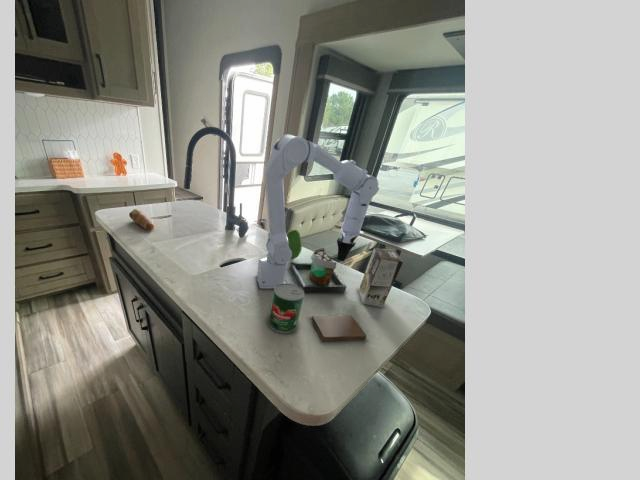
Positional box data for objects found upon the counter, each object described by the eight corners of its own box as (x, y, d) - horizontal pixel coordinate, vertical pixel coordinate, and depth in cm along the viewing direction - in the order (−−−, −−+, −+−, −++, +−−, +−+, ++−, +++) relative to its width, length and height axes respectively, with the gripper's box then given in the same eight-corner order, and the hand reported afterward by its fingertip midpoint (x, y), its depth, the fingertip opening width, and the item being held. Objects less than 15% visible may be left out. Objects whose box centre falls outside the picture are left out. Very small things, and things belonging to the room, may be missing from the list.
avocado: (291, 252, 115) (296, 225, 108) (303, 260, 109) (309, 232, 102) (276, 255, 112) (280, 227, 105) (287, 263, 106) (292, 234, 99)
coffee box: (383, 307, 85) (404, 262, 76) (362, 304, 86) (380, 259, 77) (377, 292, 93) (395, 249, 83) (358, 289, 93) (374, 246, 84)
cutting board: (322, 341, 71) (323, 337, 70) (311, 319, 78) (312, 315, 77) (364, 340, 72) (366, 336, 71) (350, 318, 79) (351, 315, 78)
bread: (142, 218, 138) (140, 207, 135) (156, 231, 126) (155, 219, 123) (129, 220, 135) (127, 209, 131) (143, 233, 122) (141, 221, 119)
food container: (302, 271, 102) (307, 247, 96) (317, 271, 102) (324, 247, 97) (312, 289, 92) (318, 263, 86) (329, 289, 92) (337, 263, 87)
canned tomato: (270, 332, 72) (275, 299, 66) (267, 314, 79) (272, 282, 72) (299, 333, 72) (307, 300, 66) (294, 315, 79) (301, 283, 73)
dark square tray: (302, 293, 89) (303, 286, 88) (289, 268, 103) (290, 262, 102) (344, 292, 91) (346, 286, 90) (326, 268, 105) (327, 263, 104)
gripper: (366, 225, 77) (351, 267, 84) (370, 213, 88) (356, 251, 95) (341, 220, 79) (329, 261, 87) (347, 209, 90) (336, 246, 98)
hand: (342, 256), depth 91 cm, fingers open, 7 cm apart
